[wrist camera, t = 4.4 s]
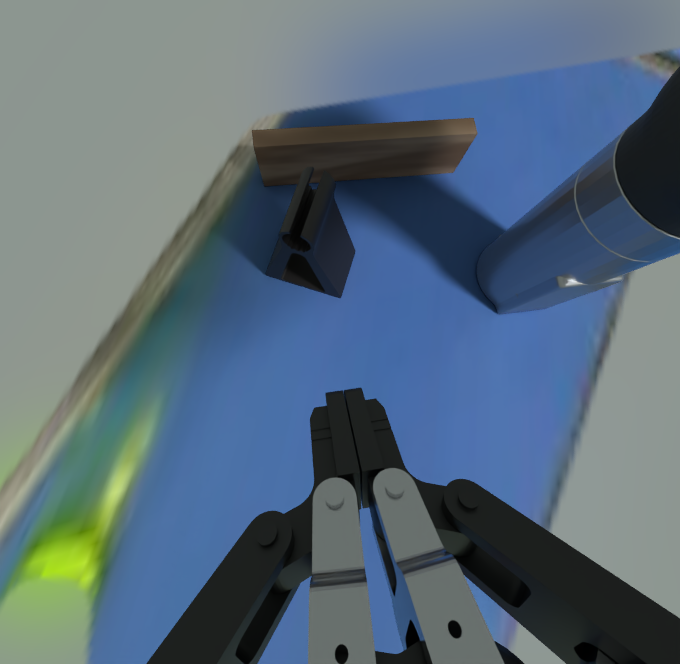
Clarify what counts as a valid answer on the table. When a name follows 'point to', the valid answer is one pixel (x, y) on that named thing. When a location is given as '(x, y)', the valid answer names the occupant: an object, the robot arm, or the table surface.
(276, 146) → the board
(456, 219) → the table surface
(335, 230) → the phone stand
